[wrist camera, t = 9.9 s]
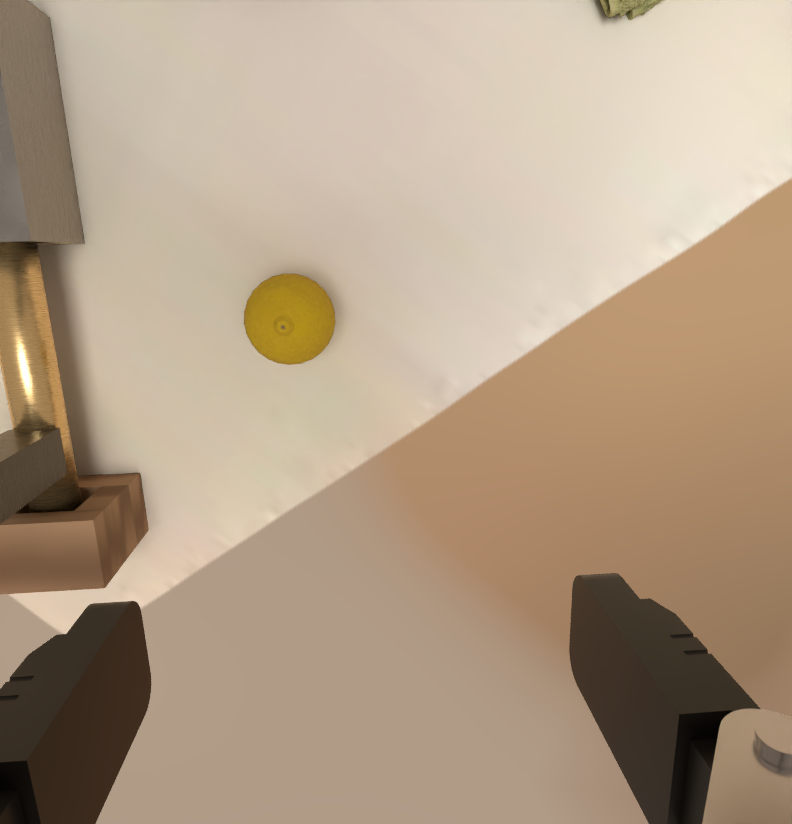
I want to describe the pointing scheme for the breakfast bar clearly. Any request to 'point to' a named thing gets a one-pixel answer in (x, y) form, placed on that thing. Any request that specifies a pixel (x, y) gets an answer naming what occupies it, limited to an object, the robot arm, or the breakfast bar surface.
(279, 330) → the lemon
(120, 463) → the breakfast bar surface
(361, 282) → the breakfast bar surface
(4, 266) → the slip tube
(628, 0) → the washcloth
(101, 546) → the socket
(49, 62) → the sleeve
